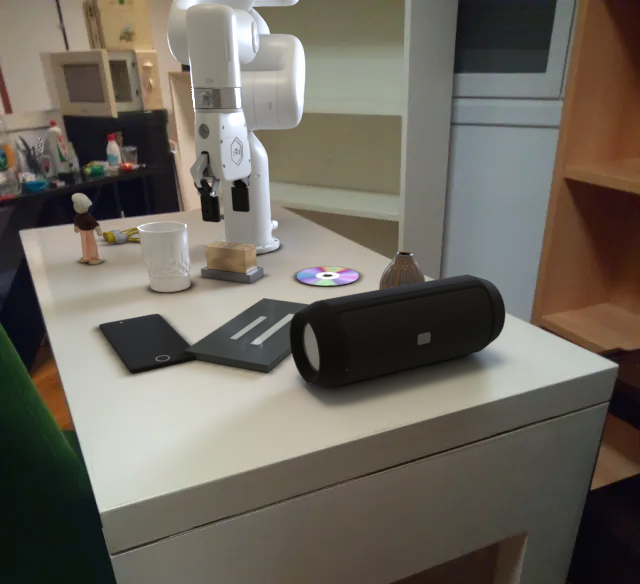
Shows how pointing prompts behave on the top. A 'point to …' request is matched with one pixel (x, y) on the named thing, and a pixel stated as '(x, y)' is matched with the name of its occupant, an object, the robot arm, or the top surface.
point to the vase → (401, 271)
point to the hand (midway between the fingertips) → (227, 216)
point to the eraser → (231, 262)
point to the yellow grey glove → (120, 236)
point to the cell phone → (146, 343)
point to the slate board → (251, 337)
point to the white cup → (166, 255)
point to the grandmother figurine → (86, 229)
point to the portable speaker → (394, 329)
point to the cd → (317, 278)
